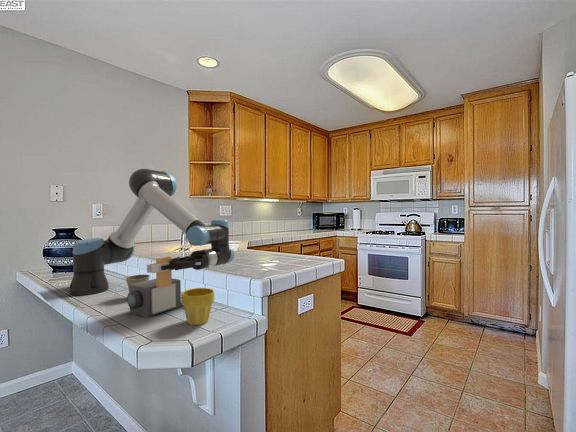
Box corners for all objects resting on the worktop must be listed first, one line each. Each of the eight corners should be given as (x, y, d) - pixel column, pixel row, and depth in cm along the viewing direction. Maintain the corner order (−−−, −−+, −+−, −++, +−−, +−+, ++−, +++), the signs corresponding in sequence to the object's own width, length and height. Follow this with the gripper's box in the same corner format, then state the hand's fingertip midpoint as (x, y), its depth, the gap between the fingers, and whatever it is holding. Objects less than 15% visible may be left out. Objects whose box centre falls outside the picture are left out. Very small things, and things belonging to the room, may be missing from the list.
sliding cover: (173, 306, 111) (173, 256, 111) (176, 306, 110) (176, 256, 110) (151, 313, 103) (150, 259, 103) (154, 314, 103) (153, 259, 102)
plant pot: (221, 319, 100) (221, 289, 100) (197, 330, 91) (197, 297, 91) (199, 313, 105) (198, 286, 105) (174, 323, 97) (174, 293, 96)
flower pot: (122, 297, 127) (122, 276, 127) (146, 292, 133) (146, 273, 133) (128, 302, 120) (128, 280, 120) (153, 297, 126) (153, 276, 126)
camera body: (164, 302, 120) (163, 274, 119) (181, 306, 114) (180, 277, 114) (123, 314, 106) (122, 282, 105) (140, 319, 100) (140, 286, 100)
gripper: (216, 270, 118) (163, 282, 98) (190, 266, 126) (136, 277, 106) (216, 251, 118) (163, 259, 98) (190, 248, 126) (136, 256, 106)
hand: (149, 269), depth 102 cm, fingers closed on sliding cover, 2 cm apart
